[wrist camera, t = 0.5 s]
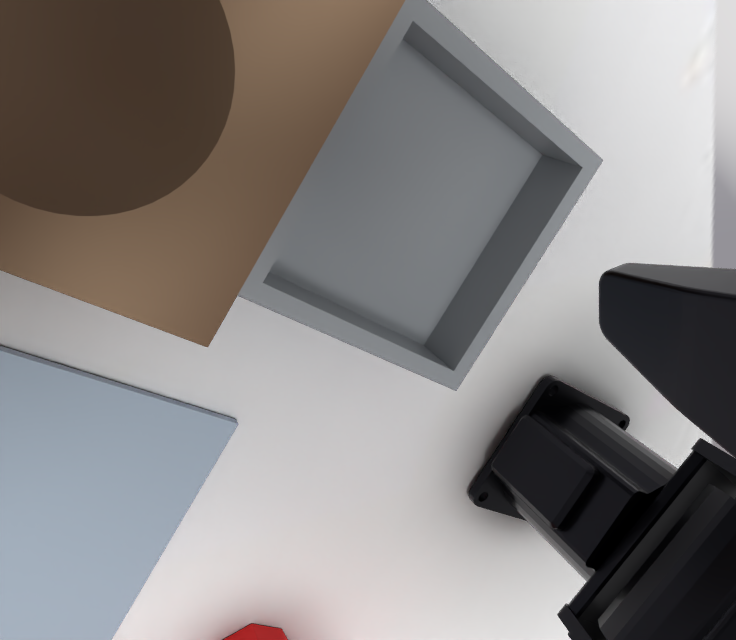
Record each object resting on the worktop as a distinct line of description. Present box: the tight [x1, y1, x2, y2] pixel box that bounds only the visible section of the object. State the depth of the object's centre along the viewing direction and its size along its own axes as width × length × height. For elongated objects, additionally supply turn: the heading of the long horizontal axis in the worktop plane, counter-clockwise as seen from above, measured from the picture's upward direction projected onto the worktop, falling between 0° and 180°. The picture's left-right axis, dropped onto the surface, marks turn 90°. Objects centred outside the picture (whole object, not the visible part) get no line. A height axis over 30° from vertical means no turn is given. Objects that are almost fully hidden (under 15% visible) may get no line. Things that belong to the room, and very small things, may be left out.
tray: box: [238, 0, 603, 391], centre depth 21 cm, size 9×9×2 cm
